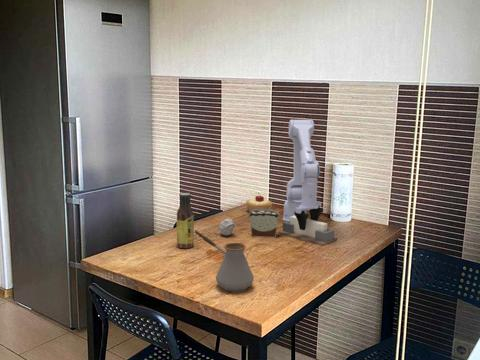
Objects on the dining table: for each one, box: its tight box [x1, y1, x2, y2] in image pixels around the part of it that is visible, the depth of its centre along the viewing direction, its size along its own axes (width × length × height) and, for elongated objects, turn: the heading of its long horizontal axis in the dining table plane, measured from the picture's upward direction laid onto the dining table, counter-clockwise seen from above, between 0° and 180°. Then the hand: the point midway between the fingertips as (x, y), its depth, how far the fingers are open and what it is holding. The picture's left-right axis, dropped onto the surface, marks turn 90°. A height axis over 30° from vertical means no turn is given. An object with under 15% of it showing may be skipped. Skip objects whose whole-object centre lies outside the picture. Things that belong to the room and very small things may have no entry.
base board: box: [278, 230, 338, 246], centre depth 209 cm, size 21×10×1 cm, turn 48°
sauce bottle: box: [176, 192, 195, 249], centre depth 195 cm, size 7×6×20 cm
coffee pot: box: [192, 230, 255, 293], centre depth 162 cm, size 21×12×15 cm, turn 56°
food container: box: [247, 209, 281, 239], centre depth 210 cm, size 12×6×10 cm, turn 84°
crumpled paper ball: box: [218, 218, 236, 236], centre depth 209 cm, size 6×7×7 cm
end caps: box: [282, 220, 335, 242], centre depth 209 cm, size 20×6×4 cm, turn 48°
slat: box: [290, 216, 328, 238], centre depth 209 cm, size 16×2×6 cm, turn 48°
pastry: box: [245, 192, 273, 213], centre depth 244 cm, size 12×12×9 cm
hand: (308, 227), depth 209 cm, fingers open, 7 cm apart
